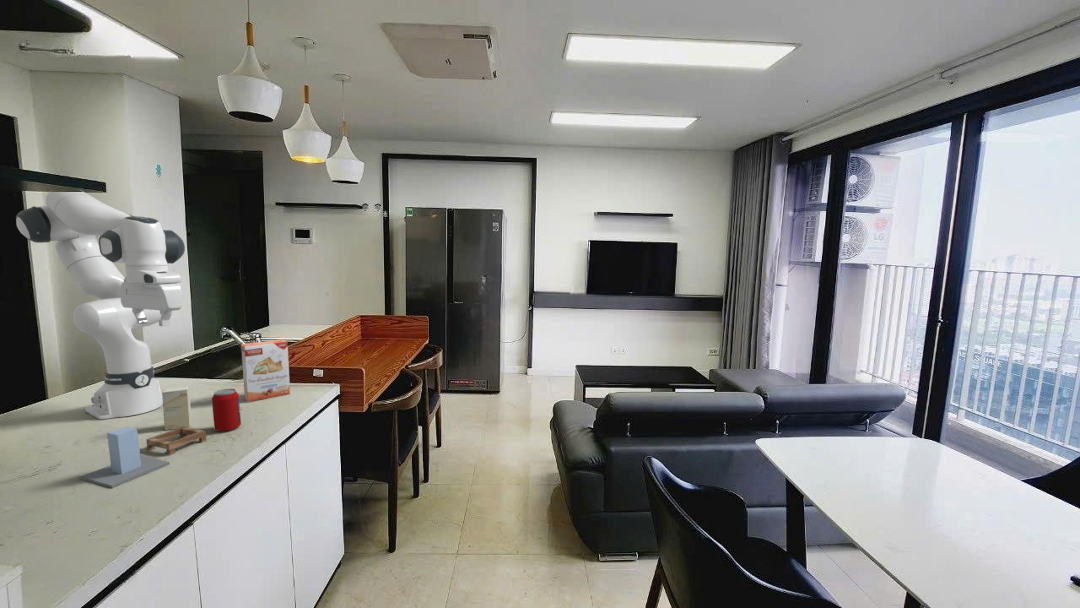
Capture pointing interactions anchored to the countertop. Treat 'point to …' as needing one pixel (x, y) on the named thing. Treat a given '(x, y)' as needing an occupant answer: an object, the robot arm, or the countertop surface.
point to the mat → (115, 479)
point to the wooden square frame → (170, 446)
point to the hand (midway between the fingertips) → (153, 324)
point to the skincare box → (176, 407)
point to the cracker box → (265, 369)
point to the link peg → (124, 449)
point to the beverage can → (226, 410)
